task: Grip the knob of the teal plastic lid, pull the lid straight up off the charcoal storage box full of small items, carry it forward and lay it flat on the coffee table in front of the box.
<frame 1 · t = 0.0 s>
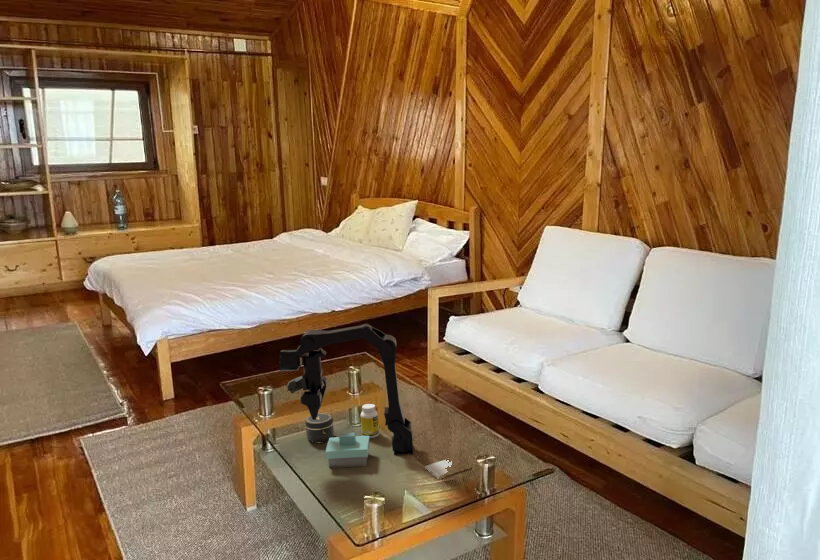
hand: (316, 414, 204), 15 cm above the table, tool pointing down, fingers open, 9 cm apart
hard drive: (448, 470, 193), on the table
jar: (320, 438, 220), on the table
pill bottle: (370, 435, 220), on the table
lid: (348, 446, 200), point 5 cm above the table, touching storage box
storage box: (349, 460, 201), on the table
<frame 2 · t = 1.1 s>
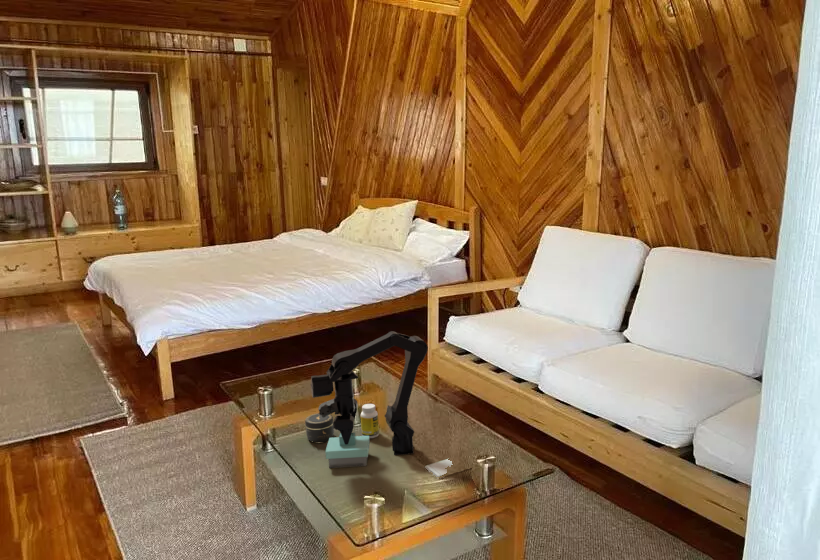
hand: (347, 438, 200), 8 cm above the table, tool pointing down, fingers open, 9 cm apart
nothing on the table moved.
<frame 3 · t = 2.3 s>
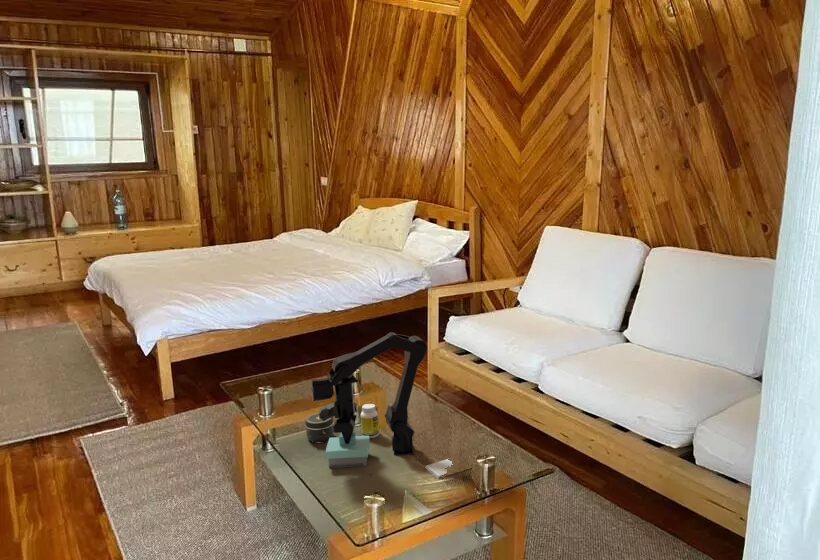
hand: (347, 441, 200), 7 cm above the table, tool pointing down, fingers closed on lid, 3 cm apart
lid: (348, 446, 200), point 5 cm above the table, touching gripper, storage box
everything else where it was.
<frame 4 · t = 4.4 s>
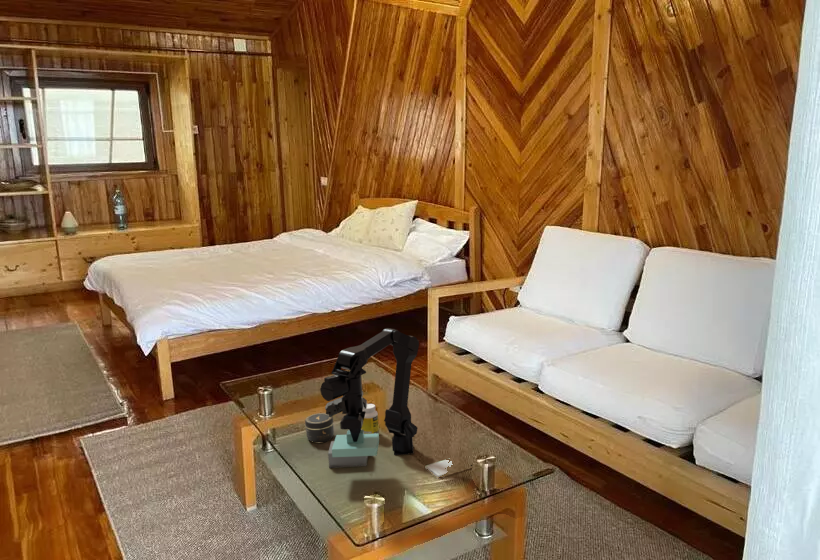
hand: (355, 439, 188), 12 cm above the table, tool pointing down, fingers closed on lid, 3 cm apart
lid: (356, 444, 189), point 11 cm above the table, touching gripper
everything else where it was.
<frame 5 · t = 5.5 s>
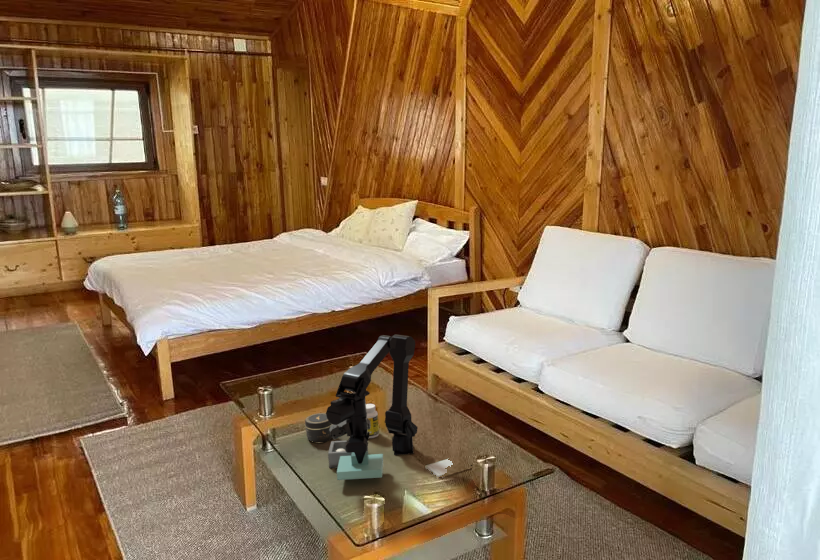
hand: (360, 460, 188), 6 cm above the table, tool pointing down, fingers closed on lid, 3 cm apart
lid: (360, 465, 188), point 4 cm above the table, touching gripper
everything else where it was.
when the fingers open (4 cm above the table, at t = 6.4 s): lid drops 1 cm, point 1 cm above the table.
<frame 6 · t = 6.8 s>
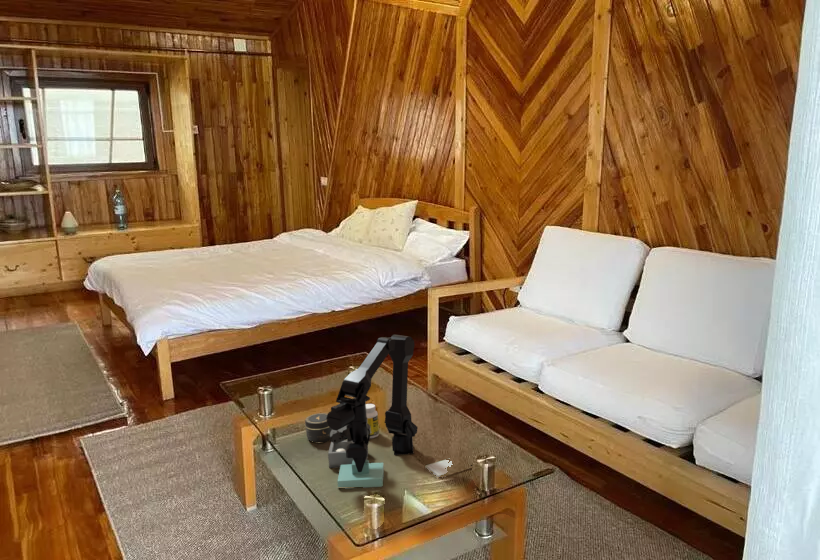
hand: (360, 466, 188), 4 cm above the table, tool pointing down, fingers open, 7 cm apart
lid: (361, 474, 188), point 1 cm above the table
everything else where it was.
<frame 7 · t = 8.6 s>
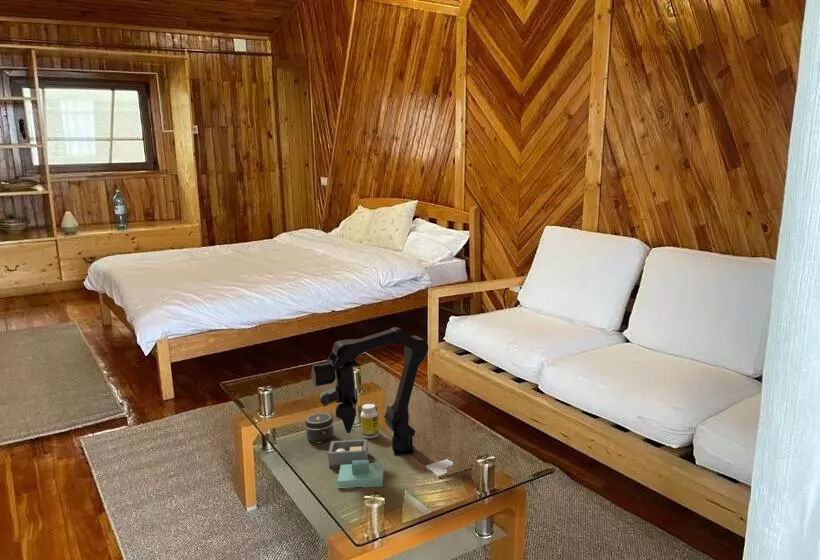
hand: (349, 426, 197), 13 cm above the table, tool pointing down, fingers open, 9 cm apart
nothing on the table moved.
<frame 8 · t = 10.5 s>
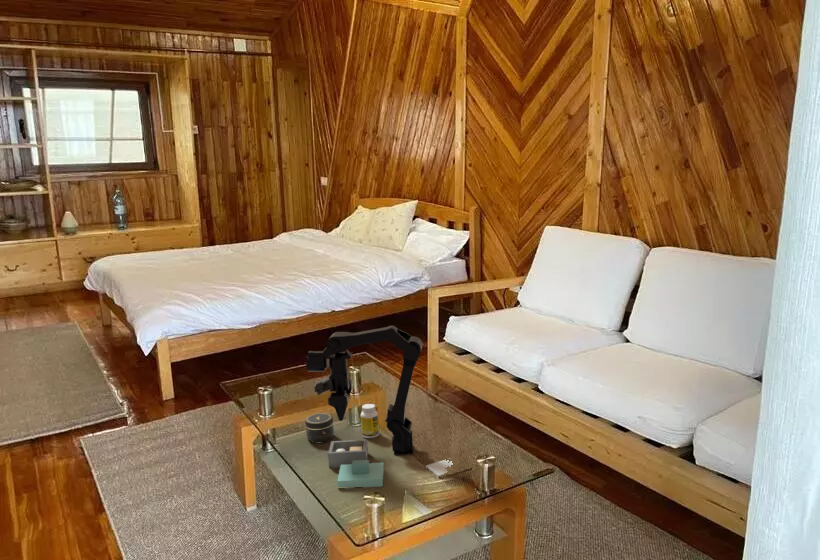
hand: (342, 415, 206), 13 cm above the table, tool pointing down, fingers open, 9 cm apart
nothing on the table moved.
at the end: lid inside the target area (0.1 cm from its centre), point 1.5 cm above the table; lid tilted 0°; the gripper is holding nothing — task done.
